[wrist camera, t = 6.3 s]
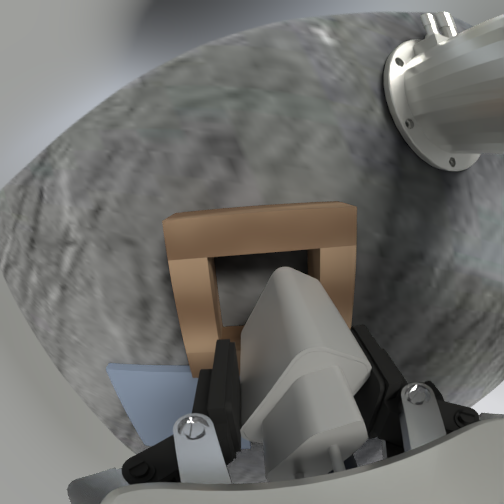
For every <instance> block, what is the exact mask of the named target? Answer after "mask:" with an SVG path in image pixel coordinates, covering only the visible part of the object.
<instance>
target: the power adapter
mask: <svg viewBox="0 0 504 504" xmlns="http://www.w3.org/2000/svg"><path fill="white" fill-rule="evenodd" d="M371 369H372V367H371V364H370V362H369V361H368V359H367V357H366V356H365V354H364V352H363V351H362V349H361V347H360V346H359V344H358V342H357V341H356V339H355V337H354V336H353V334H352V332H351V331H350V329H349V327H348V326H347V324H346V323H345V321H344V319H343V318H342V316H341V315H340V313H339V311H338V310H337V308H336V306H335V305H334V303H333V302H332V300H331V299H330V297H329V295H328V294H327V292H326V291H325V289H324V288H323V286H322V284H321V283H320V282H319V281H318V280H317V279H315V278H313V277H311V276H309V275H306V274H304V273H302V272H300V271H297V270H295V269H293V268H290V267H280V268H278V269H276V270H275V271H274V272H273V274H272V275H271V277H270V279H269V281H268V283H267V284H266V286H265V288H264V290H263V292H262V294H261V296H260V298H259V300H258V302H257V303H256V305H255V307H254V309H253V311H252V313H251V315H250V317H249V318H248V320H247V322H246V324H245V326H244V328H243V330H242V332H241V356H240V432H241V437H243V438H244V439H246V440H248V441H251V442H256V443H261V444H263V447H264V461H265V476H266V479H267V480H268V481H269V482H278V481H287V480H295V479H302V478H309V477H315V476H320V475H326V474H327V473H329V472H330V471H331V470H334V473H335V472H340V471H344V470H346V469H345V466H344V462H343V461H344V460H346V459H347V458H348V457H349V456H351V455H352V454H353V453H354V452H355V451H357V450H358V449H359V448H360V447H361V446H362V445H363V444H364V443H365V442H366V441H367V439H368V434H367V430H366V426H365V423H364V420H363V418H362V416H361V413H360V411H359V409H358V406H357V404H356V402H355V399H354V397H353V396H354V395H355V394H356V393H357V391H358V390H359V389H360V388H361V387H362V386H363V384H364V383H365V382H366V381H367V379H368V378H369V376H370V373H371Z"/></svg>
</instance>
